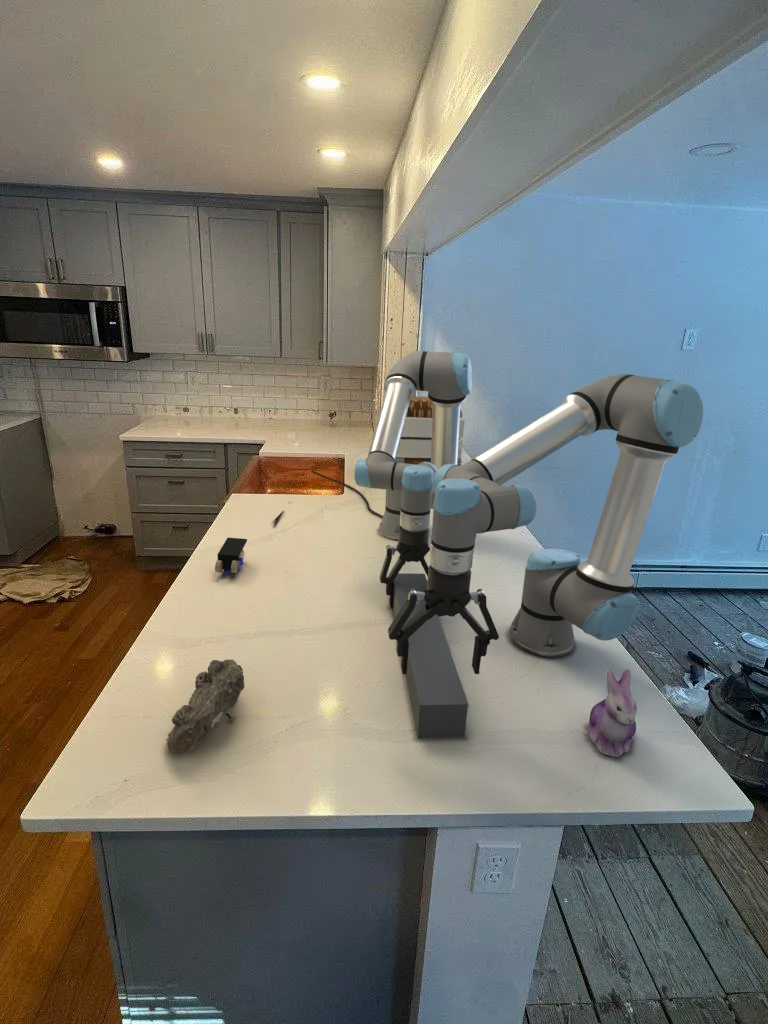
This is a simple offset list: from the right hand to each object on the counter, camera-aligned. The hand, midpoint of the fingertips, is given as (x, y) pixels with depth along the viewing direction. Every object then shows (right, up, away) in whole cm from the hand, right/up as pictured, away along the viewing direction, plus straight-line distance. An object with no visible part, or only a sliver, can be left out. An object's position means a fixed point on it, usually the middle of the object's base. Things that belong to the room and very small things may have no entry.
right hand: (439, 670), depth 106 cm
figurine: (+32, -13, 0) cm, 35 cm away
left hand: (-4, +5, +45) cm, 45 cm away
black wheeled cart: (-55, +13, +61) cm, 84 cm away
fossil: (-43, -9, +2) cm, 44 cm away
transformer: (+7, +48, +169) cm, 176 cm away
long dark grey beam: (-2, -3, +24) cm, 25 cm away
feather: (-49, +29, +107) cm, 121 cm away
